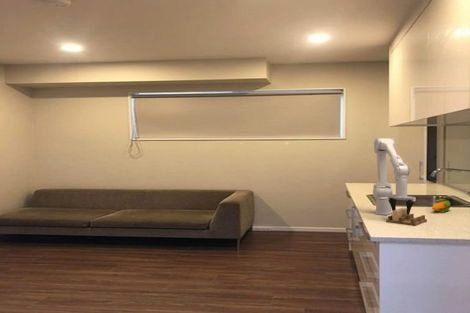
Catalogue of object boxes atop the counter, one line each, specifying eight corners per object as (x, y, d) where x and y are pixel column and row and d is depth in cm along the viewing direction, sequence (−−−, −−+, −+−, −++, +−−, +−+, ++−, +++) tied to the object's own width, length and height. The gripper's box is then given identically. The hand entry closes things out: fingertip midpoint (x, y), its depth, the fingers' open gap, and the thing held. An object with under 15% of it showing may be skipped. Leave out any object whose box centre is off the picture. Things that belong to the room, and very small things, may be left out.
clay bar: (403, 216, 237) (403, 207, 237) (409, 217, 235) (409, 208, 235) (392, 220, 227) (392, 210, 227) (397, 221, 225) (398, 211, 225)
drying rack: (399, 217, 240) (399, 212, 240) (426, 221, 229) (426, 215, 229) (386, 222, 228) (386, 216, 228) (414, 226, 218) (414, 219, 218)
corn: (453, 197, 263) (440, 201, 249) (453, 210, 263) (441, 214, 249) (440, 197, 268) (427, 201, 254) (440, 209, 268) (428, 214, 254)
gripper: (384, 187, 232) (384, 212, 233) (412, 189, 222) (411, 216, 223) (390, 186, 237) (390, 211, 238) (417, 188, 227) (417, 214, 228)
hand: (401, 213), depth 231 cm, fingers open, 7 cm apart
